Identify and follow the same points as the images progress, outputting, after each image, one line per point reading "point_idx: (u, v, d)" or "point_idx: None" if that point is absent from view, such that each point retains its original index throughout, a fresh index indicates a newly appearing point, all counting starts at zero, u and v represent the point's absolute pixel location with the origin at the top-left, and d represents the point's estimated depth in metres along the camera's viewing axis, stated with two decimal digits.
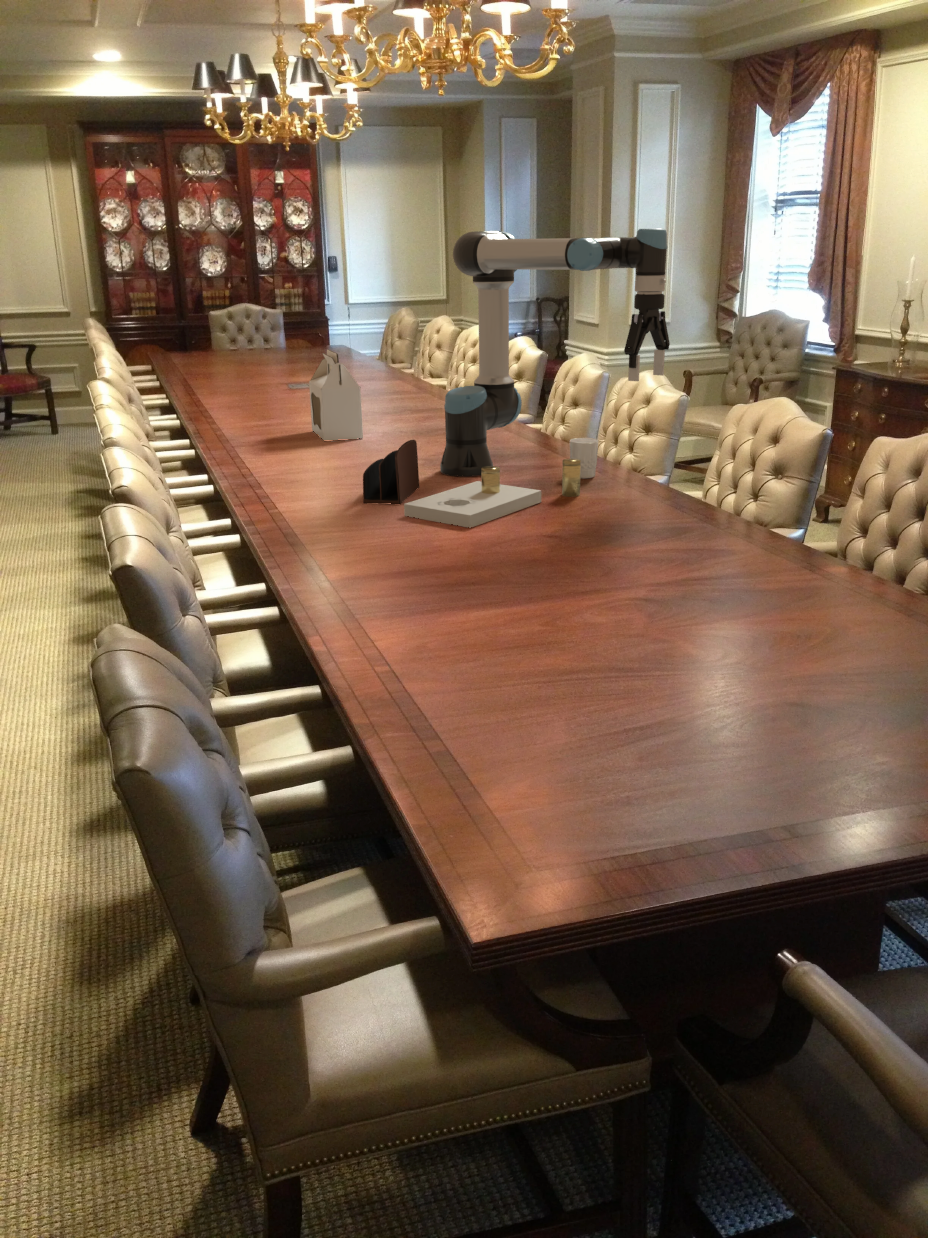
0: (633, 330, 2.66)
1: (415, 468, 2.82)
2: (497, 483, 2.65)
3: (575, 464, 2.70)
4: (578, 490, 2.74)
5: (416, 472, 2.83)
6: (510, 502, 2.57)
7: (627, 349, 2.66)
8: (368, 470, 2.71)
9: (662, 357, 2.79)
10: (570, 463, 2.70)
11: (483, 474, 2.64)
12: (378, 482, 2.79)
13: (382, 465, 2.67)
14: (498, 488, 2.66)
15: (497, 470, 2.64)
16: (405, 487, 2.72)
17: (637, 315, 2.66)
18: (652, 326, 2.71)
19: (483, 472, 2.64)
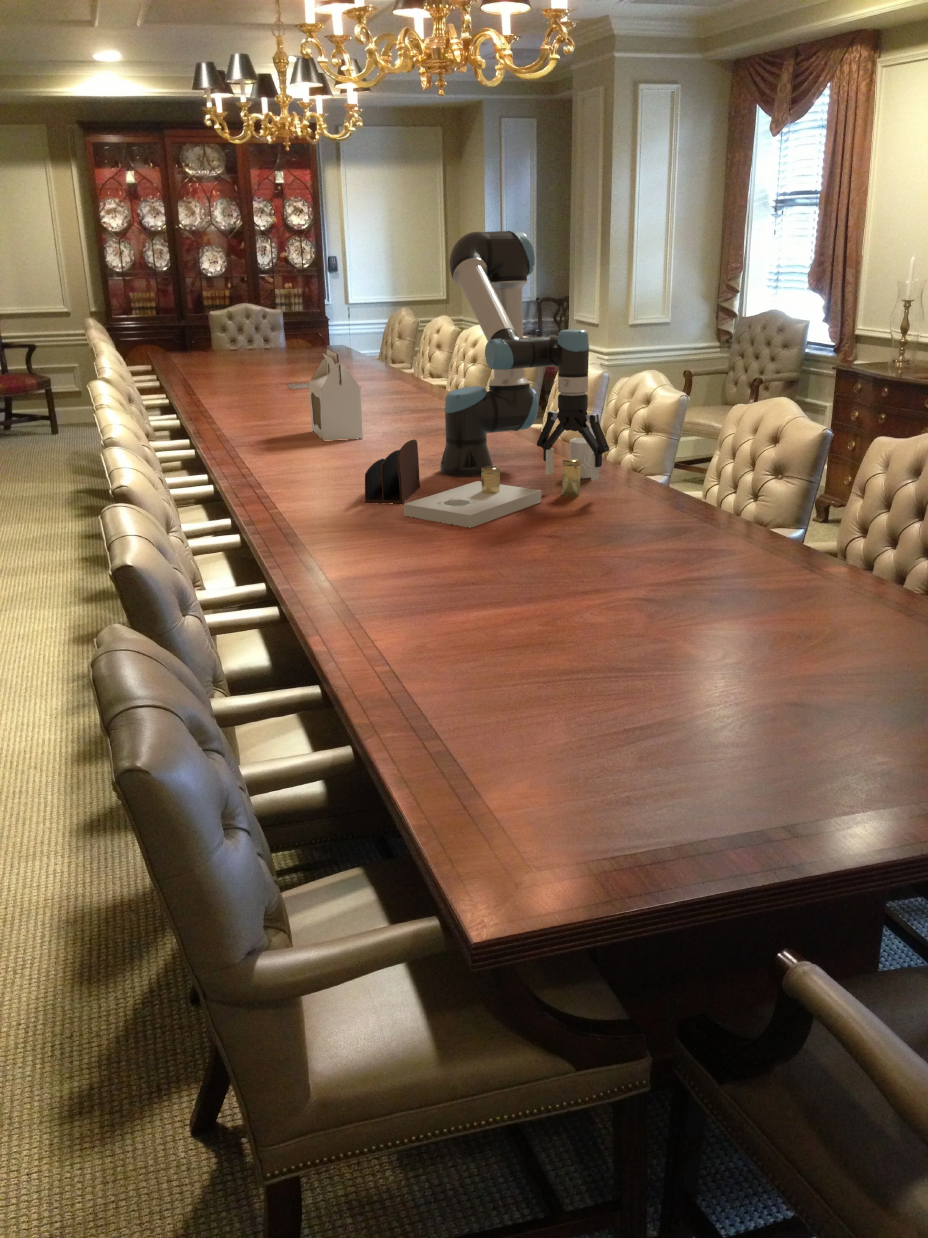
0: None
1: (416, 468, 2.82)
2: (497, 483, 2.65)
3: (575, 464, 2.70)
4: (578, 490, 2.74)
5: (417, 472, 2.83)
6: (510, 502, 2.57)
7: None
8: (370, 470, 2.71)
9: None
10: (570, 463, 2.70)
11: (483, 474, 2.64)
12: (379, 482, 2.79)
13: (384, 465, 2.67)
14: (498, 488, 2.66)
15: (497, 470, 2.64)
16: (406, 487, 2.72)
17: None
18: (570, 426, 2.68)
19: (483, 472, 2.64)
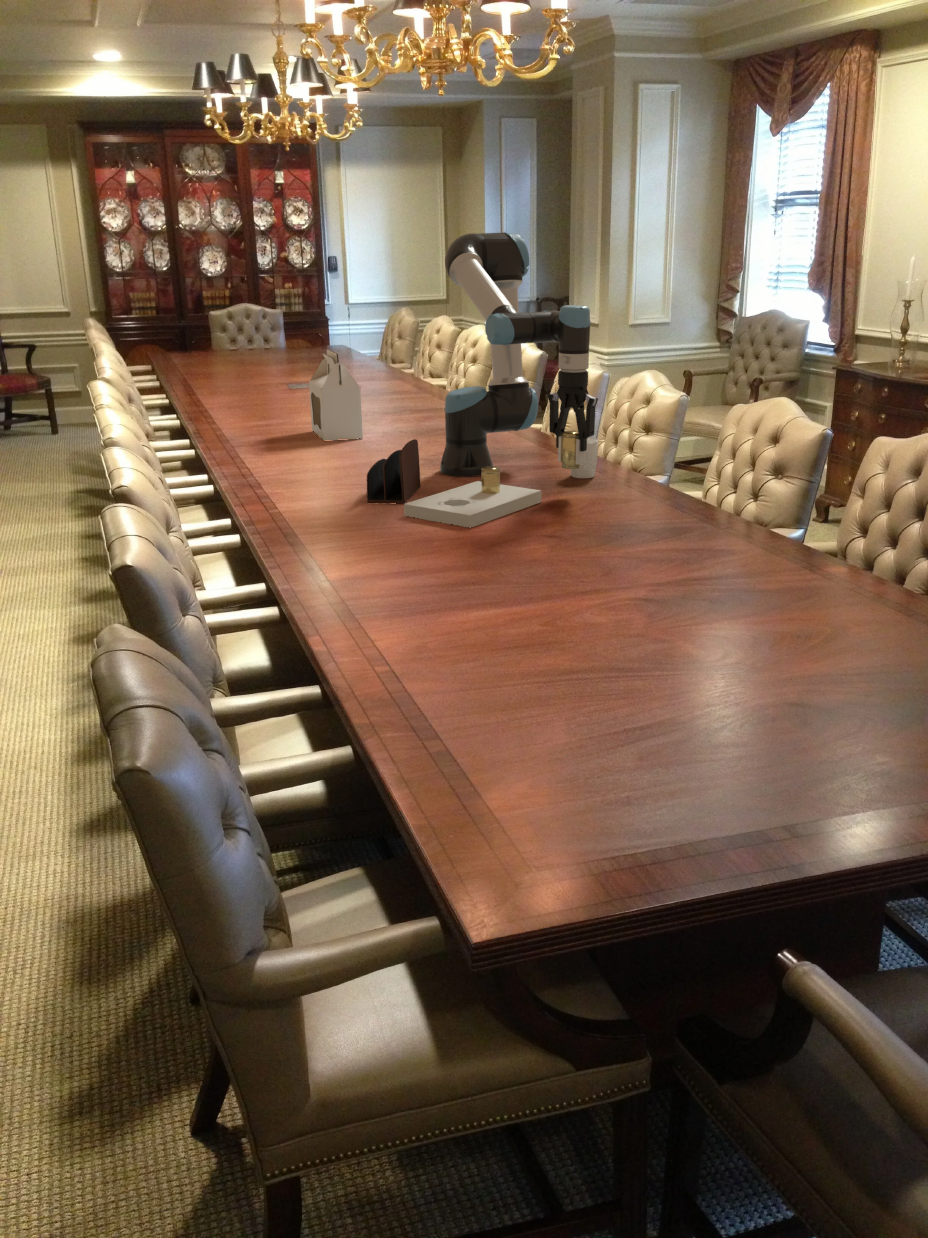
0: None
1: (416, 468, 2.82)
2: (497, 483, 2.65)
3: (575, 436, 2.68)
4: None
5: (418, 472, 2.83)
6: (510, 502, 2.57)
7: None
8: (371, 470, 2.71)
9: None
10: (570, 435, 2.68)
11: (483, 474, 2.64)
12: (380, 482, 2.78)
13: (386, 465, 2.67)
14: (498, 488, 2.66)
15: (497, 470, 2.64)
16: (408, 487, 2.73)
17: None
18: (570, 403, 2.67)
19: (483, 472, 2.64)
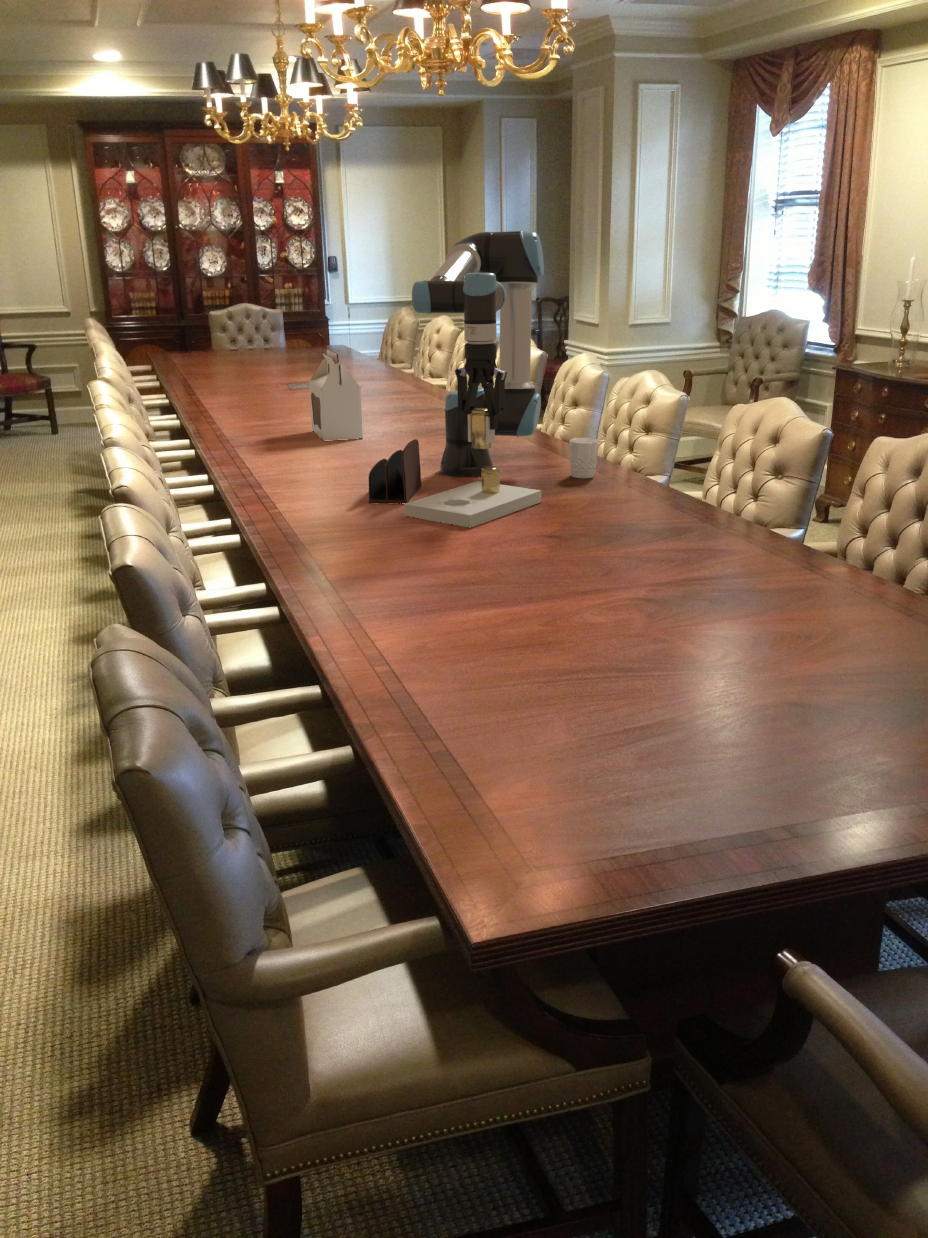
0: None
1: (417, 467, 2.82)
2: (497, 483, 2.65)
3: (484, 413, 2.51)
4: None
5: (418, 472, 2.83)
6: (510, 502, 2.57)
7: None
8: (373, 470, 2.70)
9: None
10: (479, 412, 2.51)
11: (483, 474, 2.64)
12: (382, 482, 2.78)
13: (388, 465, 2.67)
14: (498, 488, 2.66)
15: (497, 470, 2.64)
16: (410, 487, 2.73)
17: None
18: (478, 378, 2.49)
19: (483, 472, 2.64)
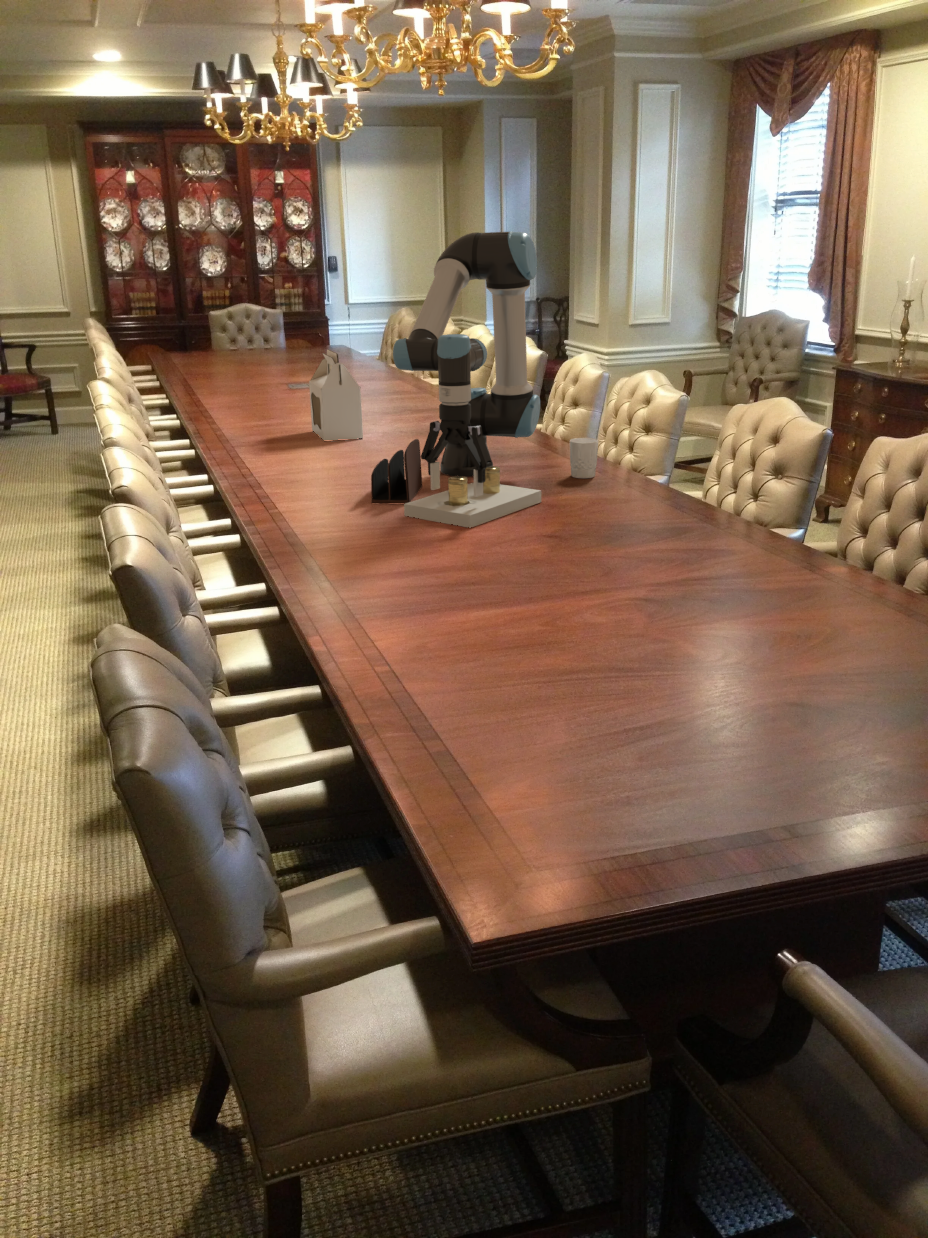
0: None
1: (418, 467, 2.82)
2: (497, 483, 2.65)
3: (461, 482, 2.53)
4: None
5: (419, 472, 2.84)
6: (510, 502, 2.57)
7: None
8: (375, 470, 2.70)
9: None
10: (455, 481, 2.53)
11: None
12: (383, 482, 2.78)
13: (390, 465, 2.67)
14: (498, 488, 2.66)
15: (497, 470, 2.64)
16: (412, 486, 2.73)
17: None
18: (453, 438, 2.50)
19: None
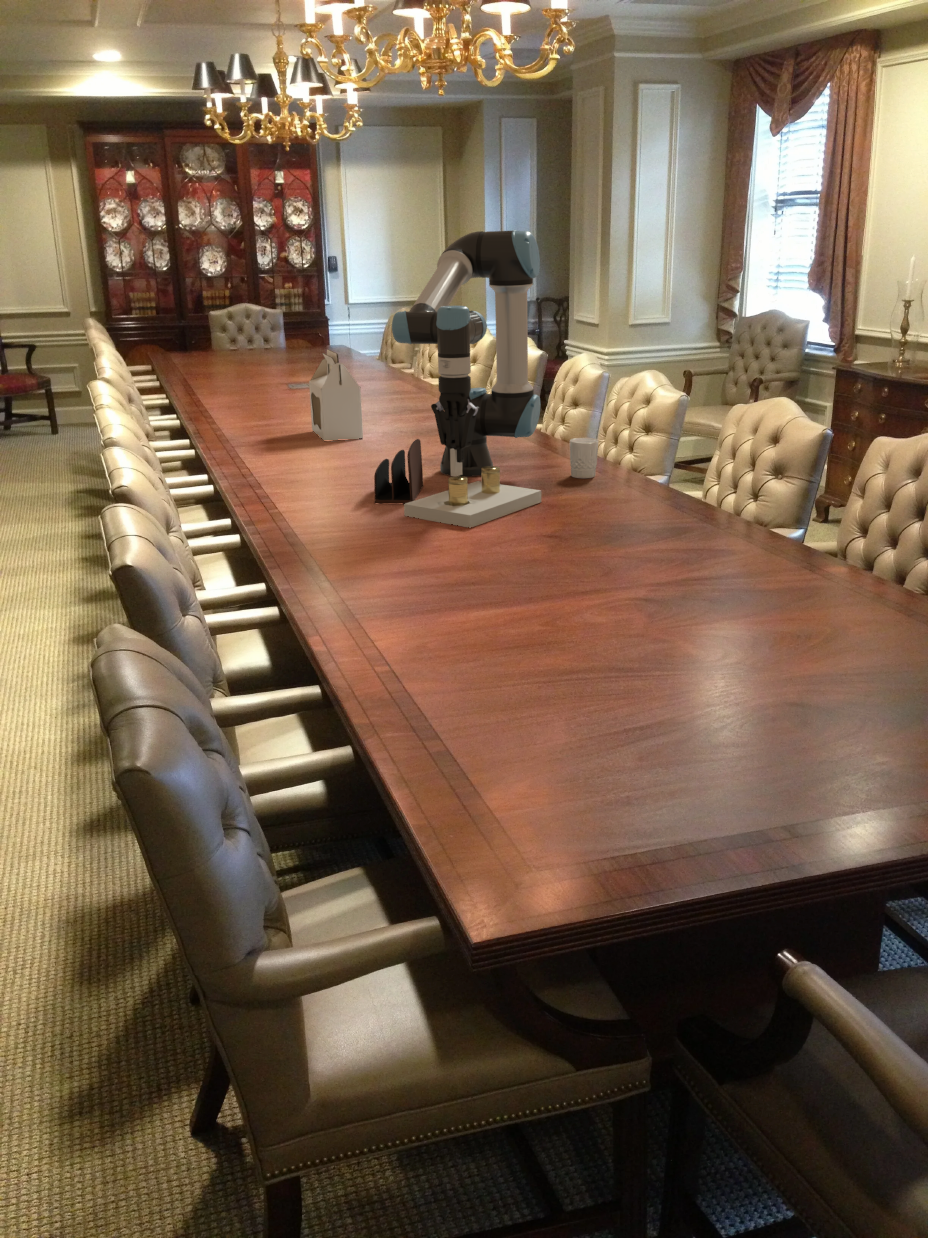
0: None
1: (420, 467, 2.82)
2: (497, 483, 2.65)
3: (461, 482, 2.53)
4: None
5: (421, 471, 2.84)
6: (510, 502, 2.57)
7: None
8: (378, 470, 2.70)
9: None
10: (455, 481, 2.52)
11: (483, 474, 2.64)
12: (385, 482, 2.78)
13: (393, 465, 2.67)
14: (498, 488, 2.66)
15: (497, 470, 2.64)
16: (415, 486, 2.73)
17: None
18: (452, 411, 2.48)
19: (483, 472, 2.64)
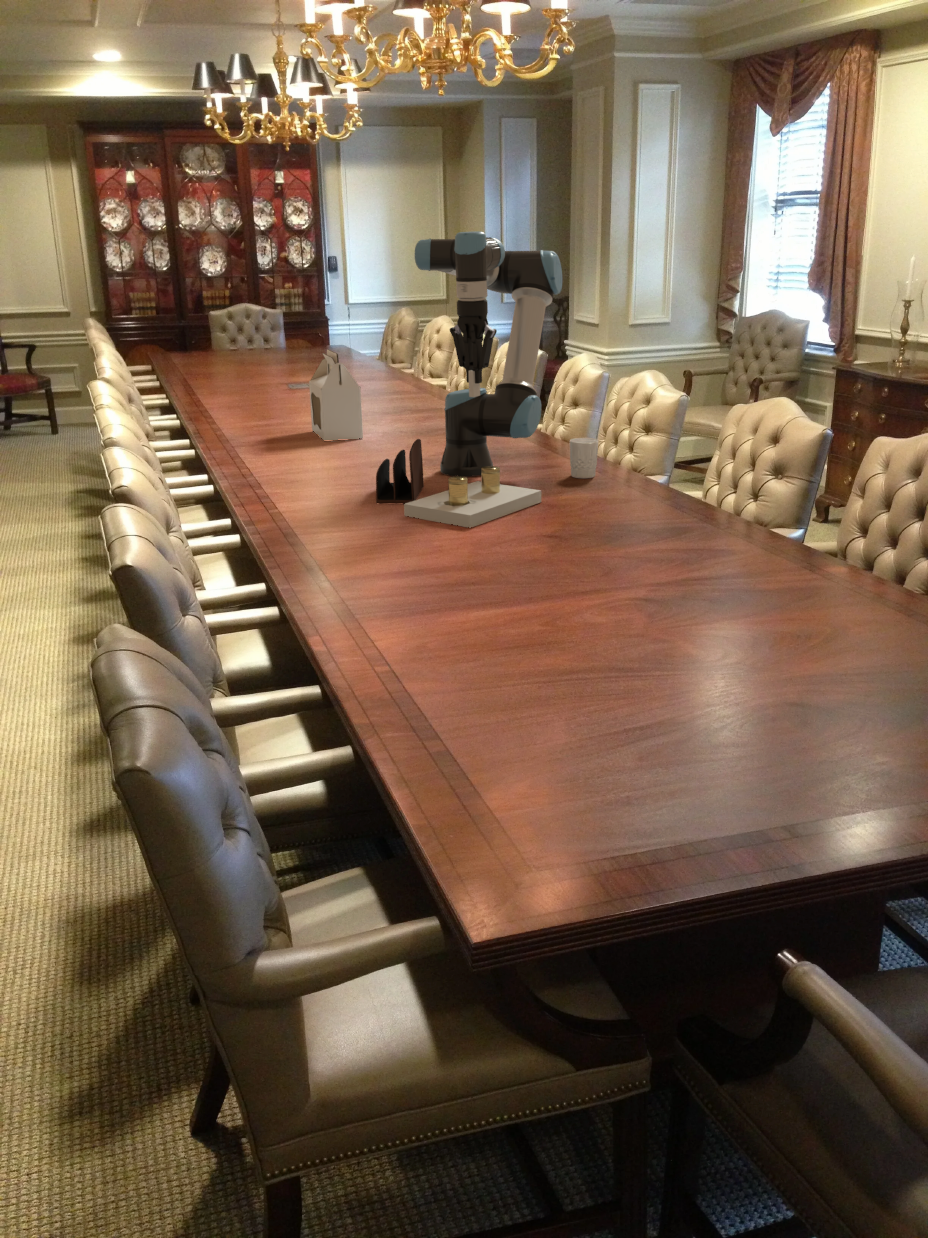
0: None
1: (421, 467, 2.82)
2: (497, 483, 2.65)
3: (461, 482, 2.53)
4: None
5: (421, 471, 2.84)
6: (510, 502, 2.57)
7: None
8: (380, 470, 2.70)
9: None
10: (455, 481, 2.52)
11: (483, 474, 2.64)
12: (386, 482, 2.78)
13: (395, 465, 2.67)
14: (498, 488, 2.66)
15: (497, 470, 2.64)
16: (416, 486, 2.73)
17: None
18: (470, 334, 2.61)
19: (483, 472, 2.64)
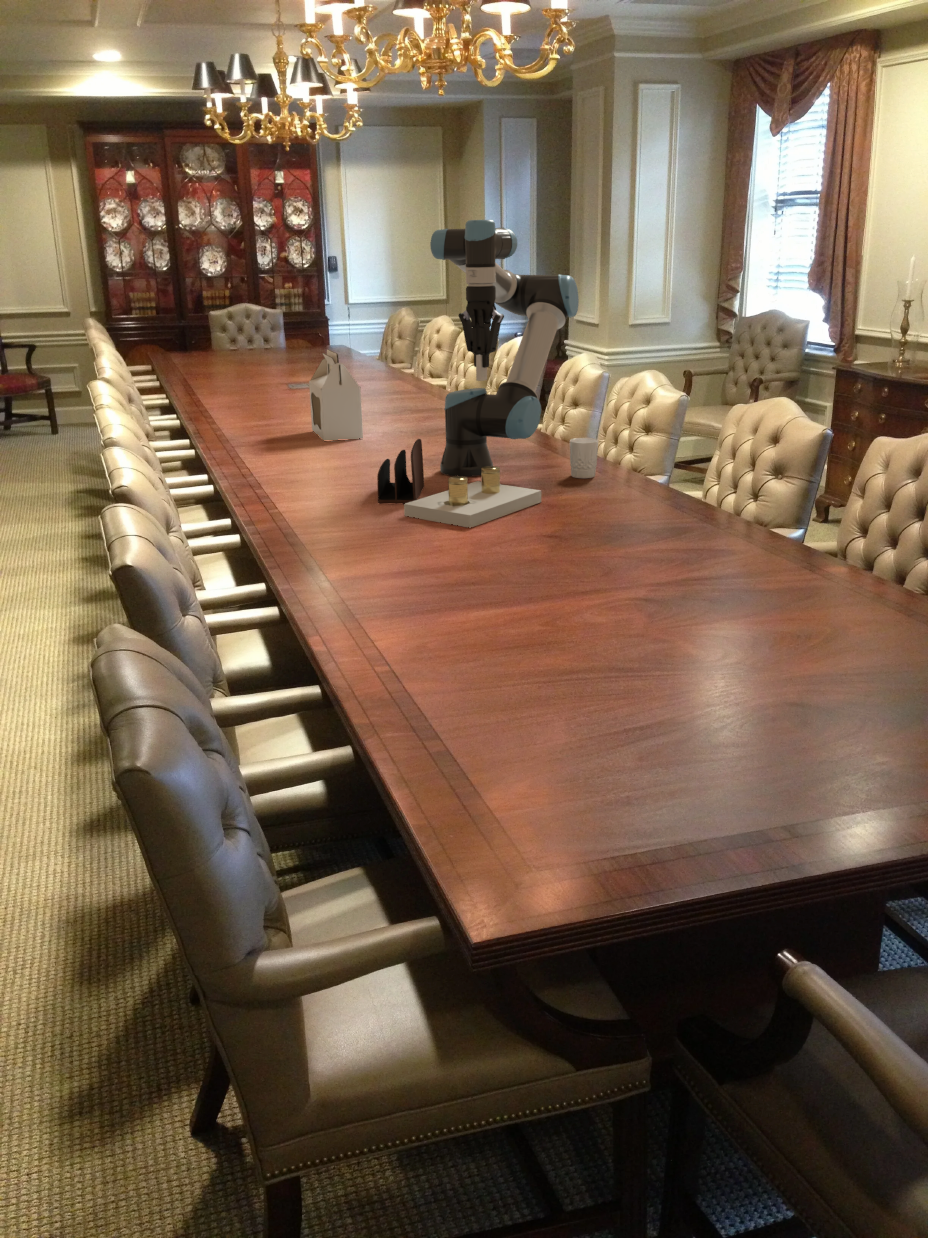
0: None
1: (421, 467, 2.83)
2: (497, 483, 2.65)
3: (461, 482, 2.53)
4: None
5: (422, 471, 2.84)
6: (510, 502, 2.57)
7: None
8: (381, 470, 2.70)
9: None
10: (455, 481, 2.52)
11: (483, 474, 2.64)
12: (387, 482, 2.78)
13: (397, 465, 2.67)
14: (498, 488, 2.66)
15: (497, 470, 2.64)
16: (417, 486, 2.73)
17: None
18: (478, 319, 2.69)
19: (483, 472, 2.64)
